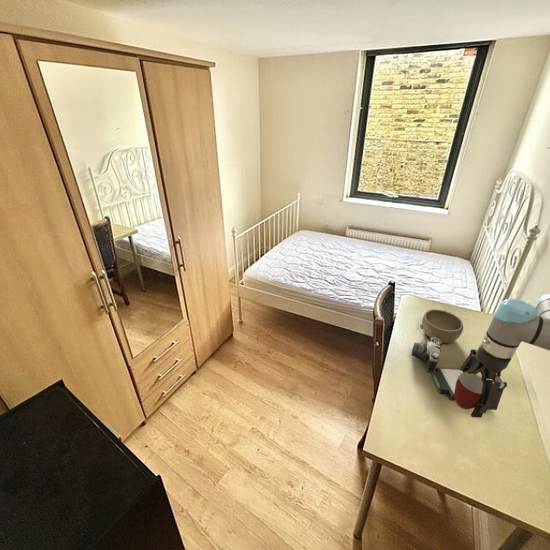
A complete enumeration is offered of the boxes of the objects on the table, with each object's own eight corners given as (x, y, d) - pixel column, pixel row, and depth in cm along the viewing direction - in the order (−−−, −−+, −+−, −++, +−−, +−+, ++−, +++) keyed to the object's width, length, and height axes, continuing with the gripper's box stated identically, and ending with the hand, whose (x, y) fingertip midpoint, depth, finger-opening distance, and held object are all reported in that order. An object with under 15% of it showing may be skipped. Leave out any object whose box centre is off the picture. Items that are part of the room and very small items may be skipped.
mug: (485, 401, 93) (497, 380, 88) (488, 423, 87) (502, 401, 82) (448, 389, 97) (457, 368, 92) (449, 409, 91) (459, 388, 86)
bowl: (413, 336, 142) (419, 320, 137) (424, 319, 154) (430, 304, 149) (452, 353, 132) (460, 336, 128) (461, 334, 144) (468, 318, 140)
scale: (487, 403, 110) (490, 397, 109) (442, 399, 111) (445, 394, 109) (468, 374, 122) (471, 368, 121) (428, 371, 123) (430, 366, 122)
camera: (412, 344, 137) (417, 327, 133) (436, 351, 133) (443, 334, 129) (409, 366, 125) (415, 349, 120) (435, 375, 121) (442, 357, 116)
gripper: (463, 325, 90) (441, 377, 101) (505, 379, 72) (473, 434, 83) (488, 327, 90) (463, 378, 101) (537, 381, 72) (500, 436, 83)
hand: (468, 403), depth 92 cm, fingers closed on mug, 8 cm apart
